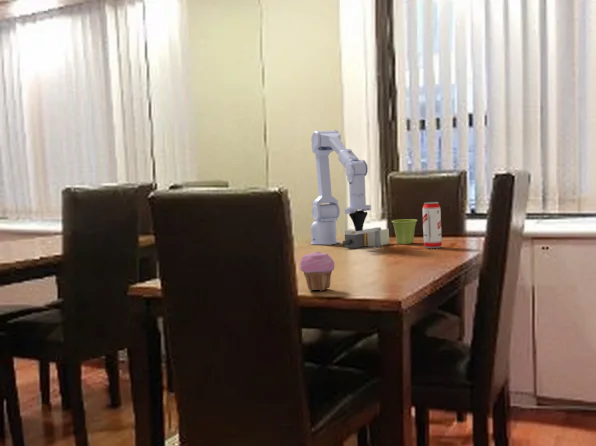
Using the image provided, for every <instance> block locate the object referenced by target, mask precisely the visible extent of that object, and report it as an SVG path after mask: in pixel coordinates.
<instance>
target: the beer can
mask: <svg viewBox="0 0 596 446" xmlns="http://www.w3.org/2000/svg"><path fill="white" fill-rule="evenodd" d="M441 216H442V213H441V205H440V204H439V201H431V202H430V201H428V202H424V203H423V206H422V230H423V232H422V233H423V247H424V248H425V249H428V248H431V250H433V249H434V248H436V249H440V248H441V246H442V244H443V243H442V240H443V239H442V238H443V237H442V218H441ZM432 248H433V249H432Z"/></svg>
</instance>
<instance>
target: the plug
mask: <svg viewBox="0 0 596 446" xmlns="http://www.w3.org/2000/svg"><path fill="white" fill-rule="evenodd" d="M342 245H343V246H344V248H346V249H347V248H350V249H357V248H361V247H367V246H368V240H367V233H363V234H355V231H353V232H352V233H350V234H345V233H344V240H342Z"/></svg>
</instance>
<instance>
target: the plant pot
mask: <svg viewBox="0 0 596 446" xmlns="http://www.w3.org/2000/svg"><path fill="white" fill-rule="evenodd" d="M417 222H418V219H413V218H411V219H410V218H409V219H406V218H405V219H403V218H402V219H393V220H391V223H392V225H393V229H394V234H395V240H396V243H397V245H400V244H401V245H410V244H413V243H414V238H415V230H416V229H415V228H416V225H417Z"/></svg>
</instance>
